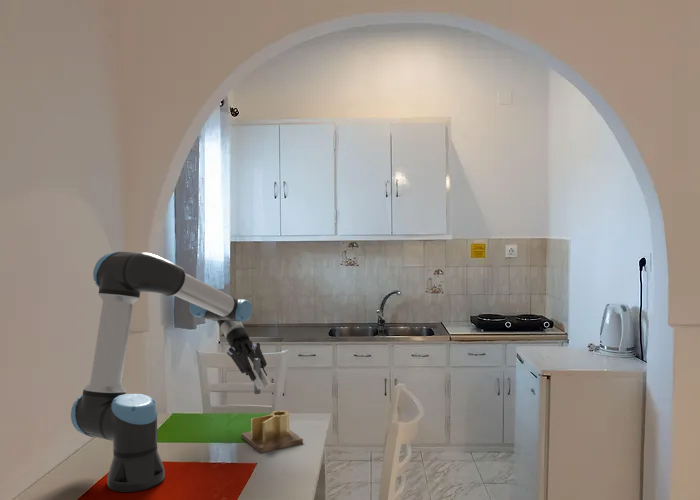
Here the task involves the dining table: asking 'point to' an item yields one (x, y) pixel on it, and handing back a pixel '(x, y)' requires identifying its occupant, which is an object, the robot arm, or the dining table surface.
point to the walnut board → (272, 442)
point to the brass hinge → (270, 426)
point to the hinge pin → (257, 368)
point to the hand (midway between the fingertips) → (264, 386)
